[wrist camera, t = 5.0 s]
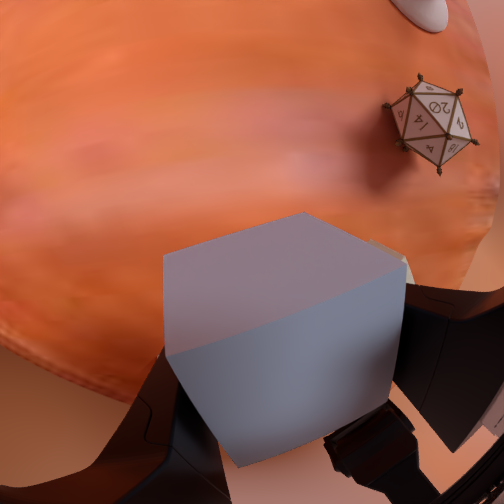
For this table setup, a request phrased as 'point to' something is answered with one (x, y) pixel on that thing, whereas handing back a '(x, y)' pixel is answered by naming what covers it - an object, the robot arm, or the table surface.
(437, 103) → the game die
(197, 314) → the slate blue cube
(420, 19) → the candlestick
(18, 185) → the table surface
